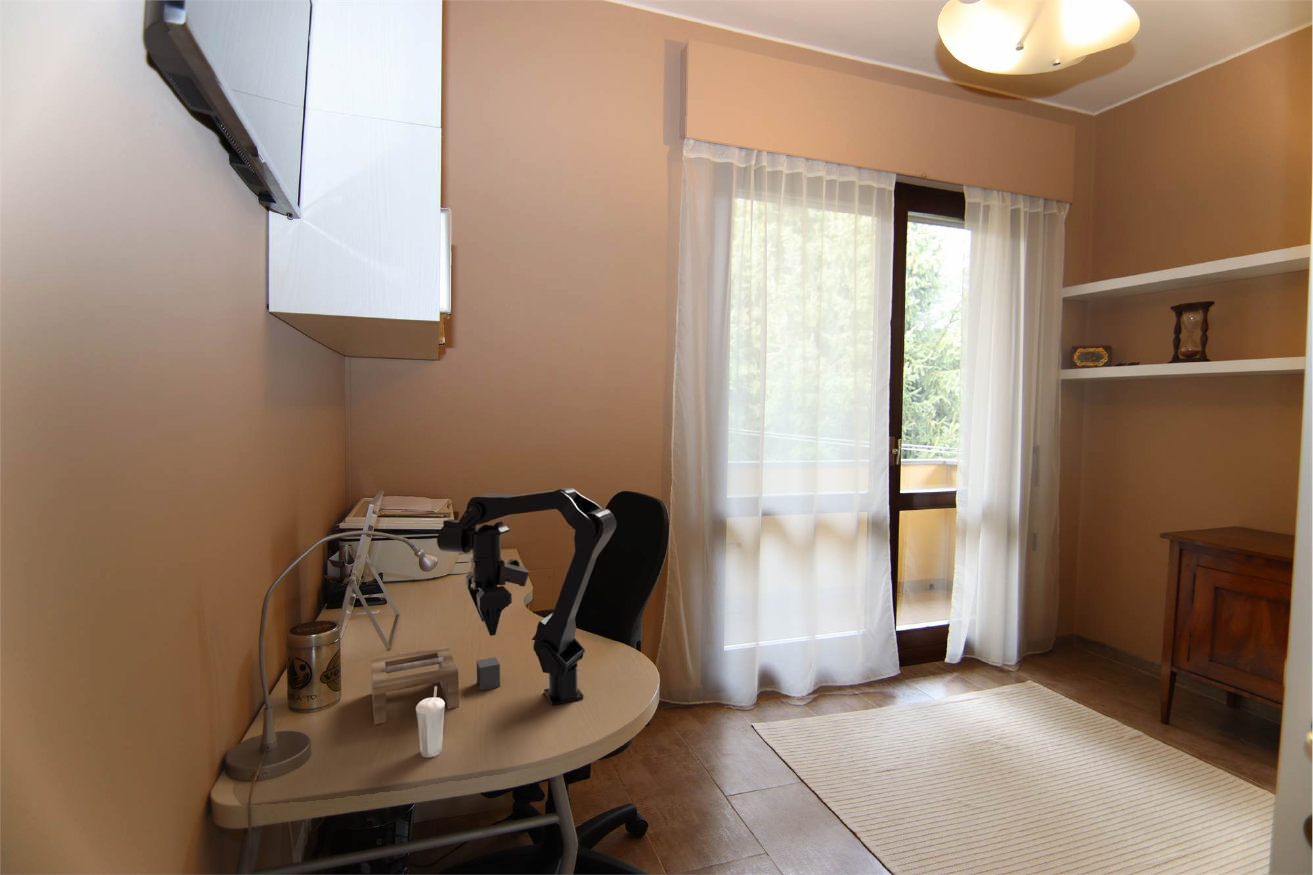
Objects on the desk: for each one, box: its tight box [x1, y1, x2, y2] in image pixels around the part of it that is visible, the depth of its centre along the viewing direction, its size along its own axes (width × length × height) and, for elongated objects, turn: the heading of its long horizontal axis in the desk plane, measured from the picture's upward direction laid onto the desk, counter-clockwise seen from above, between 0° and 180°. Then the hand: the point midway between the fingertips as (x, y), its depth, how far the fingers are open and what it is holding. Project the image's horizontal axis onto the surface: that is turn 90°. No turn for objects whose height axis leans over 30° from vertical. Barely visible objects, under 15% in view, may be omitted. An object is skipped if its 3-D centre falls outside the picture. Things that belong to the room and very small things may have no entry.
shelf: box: [370, 645, 460, 726], centre depth 122 cm, size 14×15×8 cm
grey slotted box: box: [476, 656, 501, 691], centre depth 128 cm, size 4×4×5 cm
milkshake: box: [415, 685, 446, 758], centre depth 104 cm, size 5×5×10 cm
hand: (488, 627), depth 128 cm, fingers open, 9 cm apart
